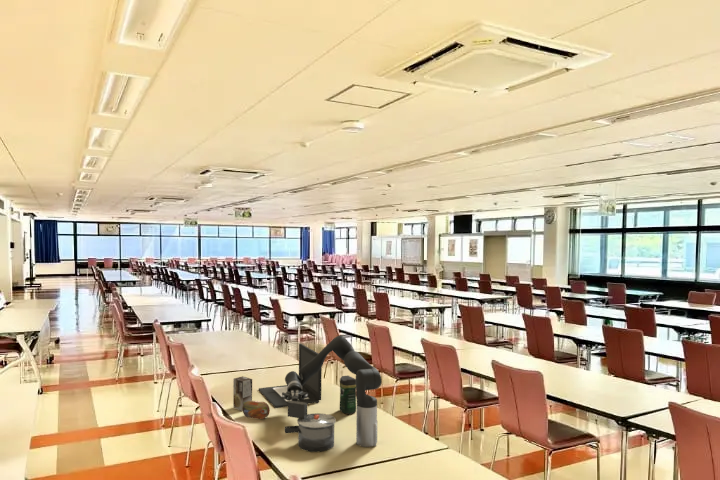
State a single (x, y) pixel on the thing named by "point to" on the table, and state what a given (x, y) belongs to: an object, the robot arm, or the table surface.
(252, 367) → the table surface
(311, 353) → the laptop
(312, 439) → the cooking pot
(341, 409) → the coffee jar
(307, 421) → the lid
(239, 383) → the coffee box
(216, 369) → the table surface
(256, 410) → the tin
